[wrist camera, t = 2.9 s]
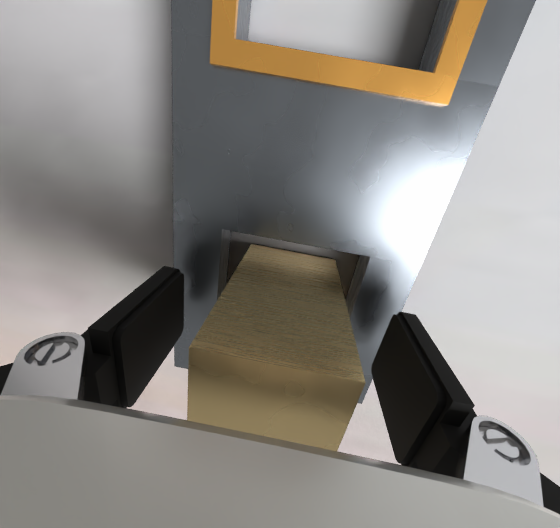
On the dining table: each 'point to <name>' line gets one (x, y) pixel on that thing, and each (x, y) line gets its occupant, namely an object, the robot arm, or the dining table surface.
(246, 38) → the socket plate
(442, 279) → the dining table surface
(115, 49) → the dining table surface
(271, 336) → the brass plug
